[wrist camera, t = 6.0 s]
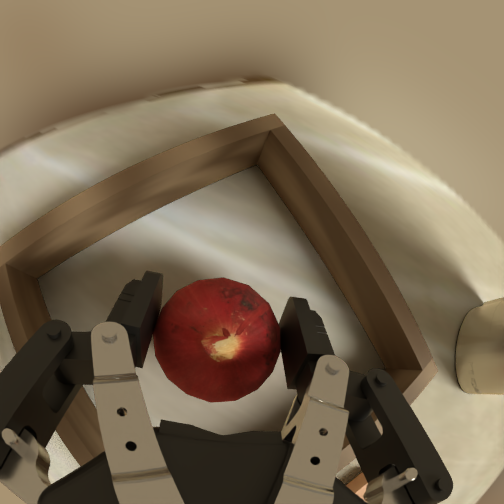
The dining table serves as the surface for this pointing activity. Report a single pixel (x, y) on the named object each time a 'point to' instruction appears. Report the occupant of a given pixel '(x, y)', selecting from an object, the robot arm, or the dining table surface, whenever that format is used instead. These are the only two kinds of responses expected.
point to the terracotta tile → (358, 485)
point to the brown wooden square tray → (181, 184)
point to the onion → (217, 340)
